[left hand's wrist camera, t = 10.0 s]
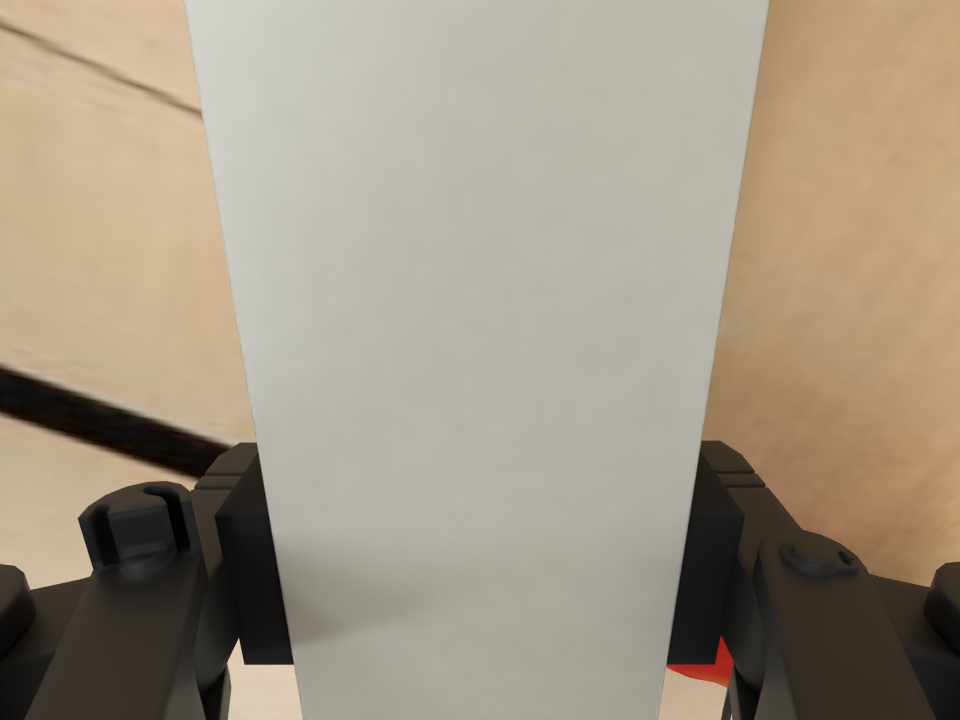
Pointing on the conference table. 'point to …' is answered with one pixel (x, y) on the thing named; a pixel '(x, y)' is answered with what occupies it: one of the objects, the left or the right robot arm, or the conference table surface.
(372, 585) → the bar
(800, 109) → the conference table surface
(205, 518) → the left robot arm
